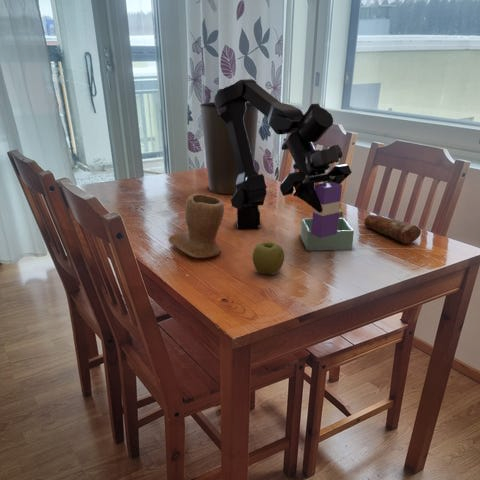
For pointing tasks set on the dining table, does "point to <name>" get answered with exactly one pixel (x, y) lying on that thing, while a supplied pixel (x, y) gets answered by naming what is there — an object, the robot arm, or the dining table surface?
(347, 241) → the bin
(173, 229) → the dining table surface
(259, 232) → the dining table surface
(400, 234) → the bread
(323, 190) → the purple tall block
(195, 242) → the stone cup
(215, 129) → the waste basket
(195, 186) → the dining table surface
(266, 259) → the apple
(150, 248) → the dining table surface
